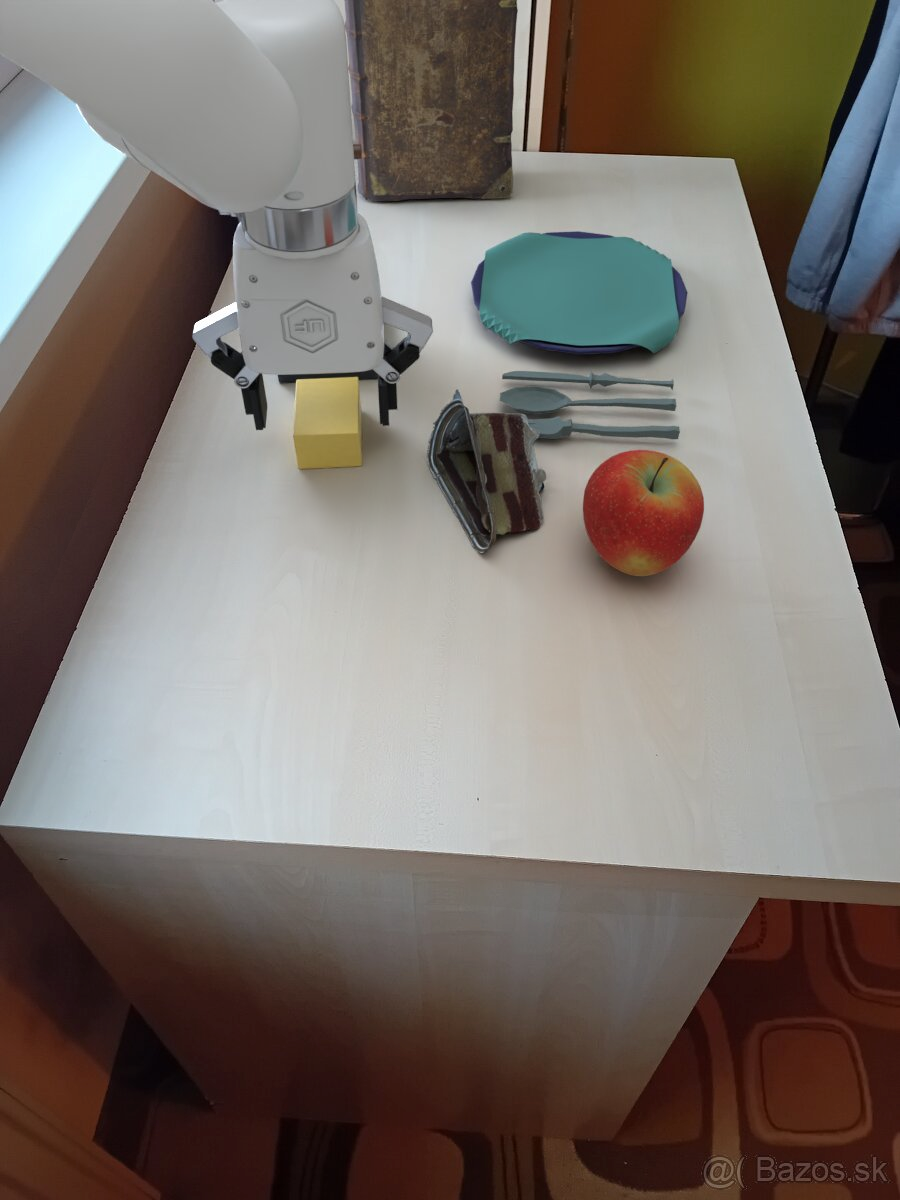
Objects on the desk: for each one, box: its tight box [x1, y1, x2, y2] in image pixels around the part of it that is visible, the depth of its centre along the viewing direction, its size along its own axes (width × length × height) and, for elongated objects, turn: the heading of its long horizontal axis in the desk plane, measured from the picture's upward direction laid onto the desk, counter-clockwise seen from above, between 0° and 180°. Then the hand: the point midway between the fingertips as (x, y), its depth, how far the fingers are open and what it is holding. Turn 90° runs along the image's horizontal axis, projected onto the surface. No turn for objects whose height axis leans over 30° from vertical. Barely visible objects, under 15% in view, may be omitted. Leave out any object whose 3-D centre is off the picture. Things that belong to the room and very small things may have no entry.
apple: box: [582, 449, 705, 577], centre depth 66 cm, size 8×8×10 cm
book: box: [344, 0, 519, 202], centre depth 95 cm, size 17×7×25 cm, turn 90°
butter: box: [292, 377, 363, 470], centre depth 77 cm, size 5×7×3 cm
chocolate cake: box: [426, 388, 547, 554], centre depth 73 cm, size 10×7×12 cm
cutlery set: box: [470, 230, 688, 440], centre depth 86 cm, size 20×30×2 cm, turn 175°
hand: (323, 416), depth 76 cm, fingers open, 9 cm apart
